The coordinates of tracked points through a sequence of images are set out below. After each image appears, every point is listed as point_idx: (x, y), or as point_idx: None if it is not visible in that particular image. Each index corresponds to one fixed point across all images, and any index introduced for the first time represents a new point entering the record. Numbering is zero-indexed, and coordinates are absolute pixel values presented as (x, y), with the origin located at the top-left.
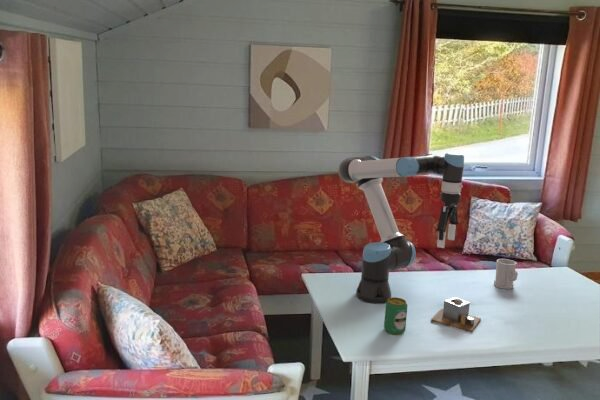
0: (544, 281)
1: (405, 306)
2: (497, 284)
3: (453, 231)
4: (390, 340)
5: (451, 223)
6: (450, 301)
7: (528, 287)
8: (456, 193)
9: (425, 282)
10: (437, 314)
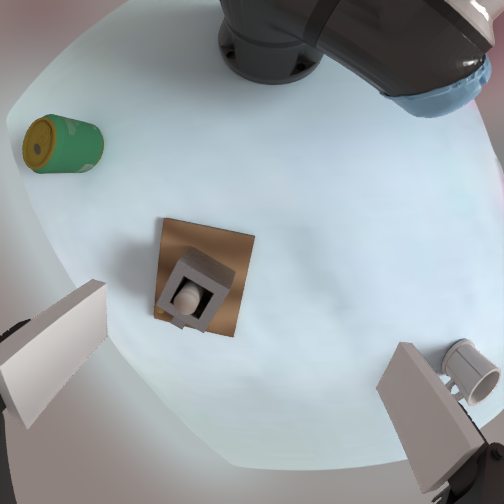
0: None
1: (35, 171)
2: (453, 350)
3: (406, 435)
4: None
5: (471, 464)
6: (181, 279)
7: None
8: None
9: (446, 177)
10: (203, 231)
